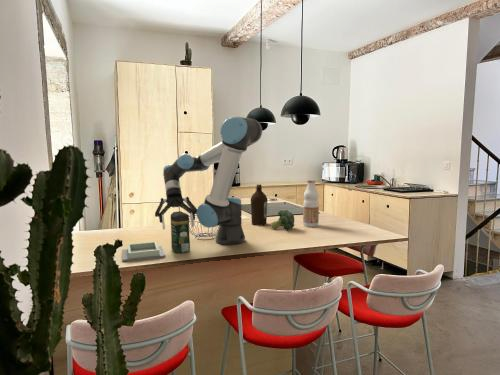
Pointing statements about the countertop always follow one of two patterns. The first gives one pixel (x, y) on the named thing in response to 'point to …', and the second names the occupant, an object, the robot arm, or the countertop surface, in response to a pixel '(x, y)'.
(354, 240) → the countertop surface
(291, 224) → the vegetable
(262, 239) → the countertop surface
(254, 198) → the olive oil
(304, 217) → the fruit juice
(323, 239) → the countertop surface
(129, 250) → the jar dock
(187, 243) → the coffee jar
